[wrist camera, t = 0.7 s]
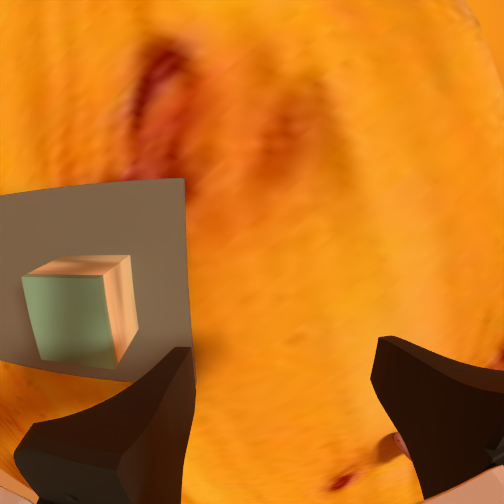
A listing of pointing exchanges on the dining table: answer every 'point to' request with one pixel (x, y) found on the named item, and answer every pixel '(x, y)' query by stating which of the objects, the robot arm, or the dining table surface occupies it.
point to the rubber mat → (100, 243)
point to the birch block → (82, 309)
